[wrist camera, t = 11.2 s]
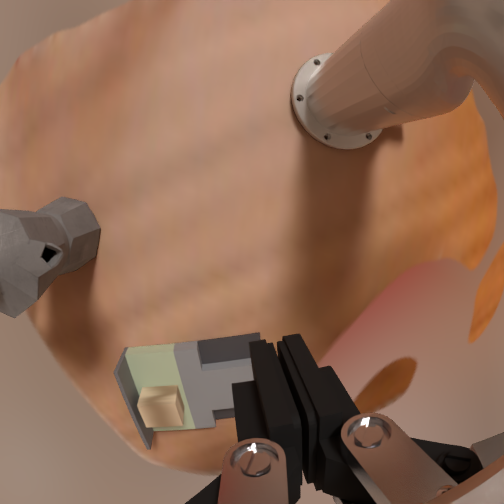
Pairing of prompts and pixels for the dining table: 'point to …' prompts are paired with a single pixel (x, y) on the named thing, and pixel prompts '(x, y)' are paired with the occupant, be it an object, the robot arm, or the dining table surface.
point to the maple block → (161, 406)
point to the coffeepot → (42, 249)
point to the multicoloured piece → (187, 378)
